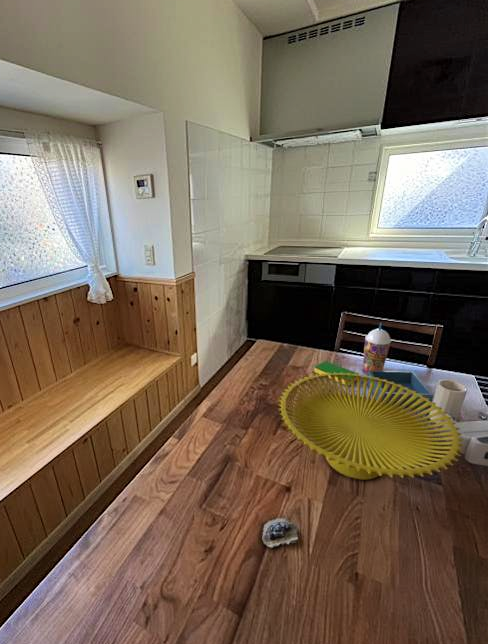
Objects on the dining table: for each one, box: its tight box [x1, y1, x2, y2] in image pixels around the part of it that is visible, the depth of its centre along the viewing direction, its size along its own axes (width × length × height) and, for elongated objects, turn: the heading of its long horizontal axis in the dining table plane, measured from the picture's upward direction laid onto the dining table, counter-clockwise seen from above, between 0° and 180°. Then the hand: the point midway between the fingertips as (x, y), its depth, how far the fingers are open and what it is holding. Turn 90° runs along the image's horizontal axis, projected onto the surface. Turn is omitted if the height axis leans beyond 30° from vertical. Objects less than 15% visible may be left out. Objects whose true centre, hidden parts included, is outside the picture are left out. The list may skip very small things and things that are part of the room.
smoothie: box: [362, 322, 392, 374], centre depth 124 cm, size 8×8×20 cm
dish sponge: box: [314, 360, 360, 387], centre depth 126 cm, size 7×14×2 cm, turn 37°
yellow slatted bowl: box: [277, 372, 464, 481], centre depth 86 cm, size 40×40×15 cm
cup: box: [428, 378, 468, 427], centre depth 98 cm, size 7×7×12 cm
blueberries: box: [261, 517, 299, 548], centre depth 71 cm, size 7×8×2 cm
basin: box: [366, 370, 434, 409], centre depth 113 cm, size 15×15×5 cm
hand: (464, 414), depth 93 cm, fingers open, 8 cm apart
